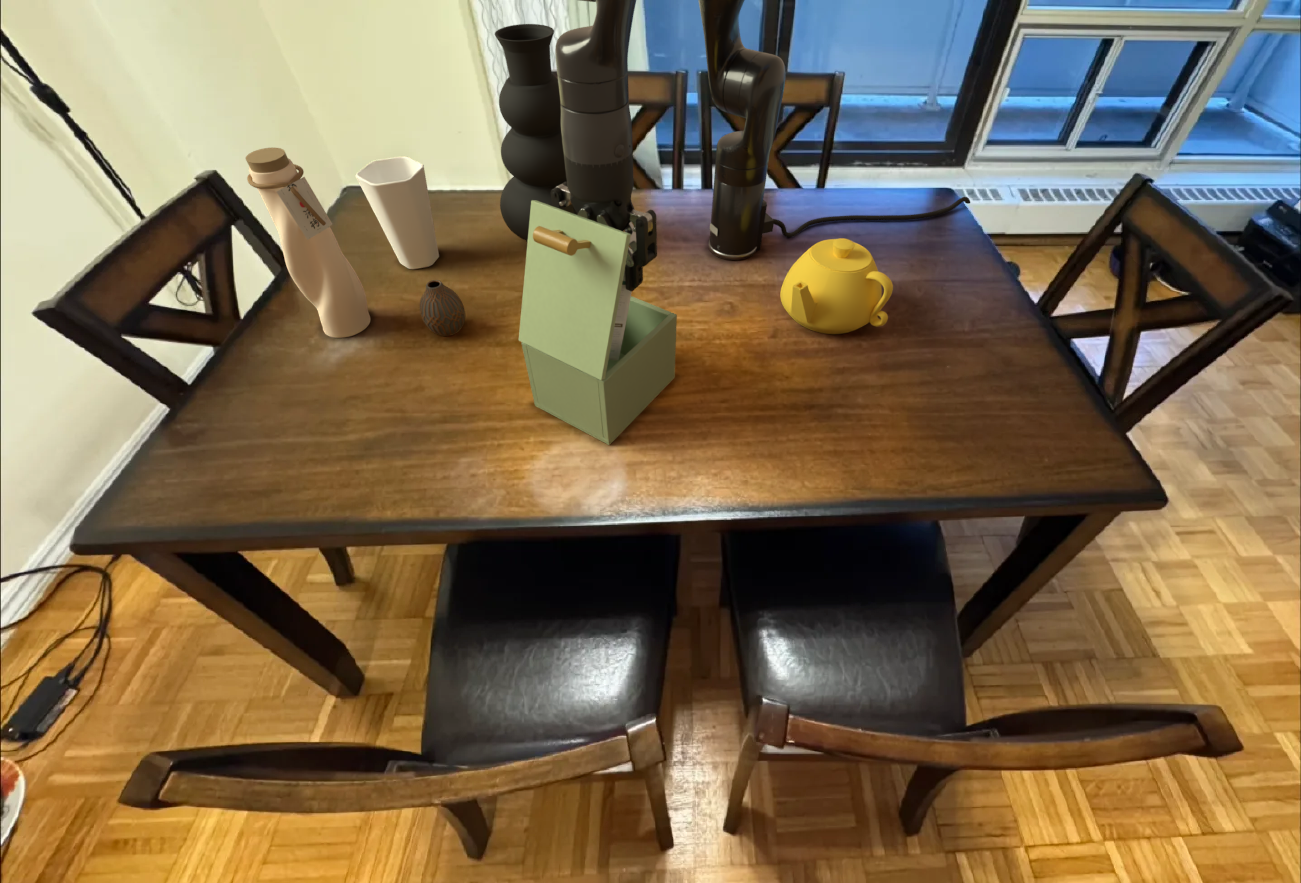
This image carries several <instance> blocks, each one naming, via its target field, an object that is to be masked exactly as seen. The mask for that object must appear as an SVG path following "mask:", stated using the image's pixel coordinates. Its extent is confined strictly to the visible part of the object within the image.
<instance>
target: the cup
mask: <svg viewBox="0 0 1301 883" xmlns="http://www.w3.org/2000/svg"><path fill="white" fill-rule="evenodd" d="M355 178H356V180H357V182H358V184H359V186H360V188H361V189H362V192H363V193H364V196H365V197H366V200H367V201H368V203H369V206H370V207H371V209H372V211H373V213H374V215H375V218H376V219H377V221H378V223H379V225H380V227H381V229H382V230H383V233H384V235H385V237H386V239H387V241H388V243H389V244H390V246H391V248H392V250H393V252H394V254H395V256H396V257H397V260H398V262H399V264H401V265H402V266H404V267H405V268H407V269H408V270H418V269H422V268H428V267H431V266H433V265H434V264H435V262H436V261H437V260H438V259H439V258H440V254H439V248H438V241H437V236H436V229H435V224H434V218H433V212H432V207H431V200H430V195H429V189H428V183H427V178H426V171H425V165H424V164H423V163H422V162H419V161H417V160H415V159H413V158H411V157H409V156H405V155H401V156H393V157H386V158H379V159H374V160H370V161H369V162H368V163H367V164H366V165H364V166H363V167H362V168H361V169H359V170H358V171H357V172H356V173H355Z"/></svg>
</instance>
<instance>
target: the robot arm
mask: <svg viewBox="0 0 1301 883" xmlns="http://www.w3.org/2000/svg"><path fill="white" fill-rule="evenodd" d="M578 1H580V2H590V3H591V2H592V3H595V5H596V6H595V8H596V13H595V17H594V21H593V24H592V25H588V26H587V25H586V26H582V27H577V28H572V29H569V30H567V31H564V32H563V33H562V34H561V35H559V37H558V38H557V40H556V43H555V51H554V53H555V66H556V67H555V68H556V74H557V76H556V77H557V79H558V85H559V94H560V103H561V134H562V143H563V152H564V160H565V169H566V178H567V182H564V183H562V184H560V185H559V186H557V187H555V188H554V189H552V190H551V200H552V206H553V207H556V208H559V209H562V210H564V211H567V212H570V213H573V207H574V209H575V210H576V212H577V214H578V216H581V217H584V218H587V219H590V220H592V221H595V222H598V223H601V224H604V225H606V226H609V227H612V228H615V229H618V230H620V231H623V232H626V233H629V234H631V237H630V243H629V248H630V249H632V251H633V253H631V251H630V250H629V248H628V254H627V259H626V265H625V282H626V290H629V291H632V292H633V291H634V290H636V289H637V288H638V287H639V286H640V285H642V283H643V282H644V267H646V266H647V265H648V264H649V263H651V262H652V261H653V260H654V259H656V258H657V257H658V236H657V235H658V232H657V230H658V229H657V214H656V212H655V211H654V210H653V209H649V210H647V211H646V212H643V211H640V210H637V209H635V206H634V204H633V202H632V194H633V189H634V186H635V185H634V181H635V180H634V154H633V153H634V152H633V151H634V149H633V147H634V146H633V123H632V114H631V109H630V100H629V98H630V94H629V92H630V91H629V64H628V63H629V61H628V60H629V59H628V58H629V47H630V40H631V32H632V27H633V20H634V15H635V10H636V4H637V0H578ZM745 1H746V0H697V2H698V6H699V13H700V19H701V24H702V25H701V26H702V30H703V37H704V38H703V39H704V46H705V47H704V48H705V56H706V68H707V76H708V77H707V78H708V85H709V91H710V95H711V98H712V102H713V103H714V105H715V107H716V108H717V109H719V110H720V111H722V112H724V113H726V114H729V115H732V116H736V117H738V118H739V117H740V118H742V119H745V122H744V128H743V130H737V131H733V132H729V133H727V134H724V135H723V136H721V137H720V138H719V139H718V141H717V143H716V150H715V151H716V152H715V161H714V175H713V176H714V177H713V187H712V188H713V189H712V202H711V214H710V223H709V238H708V250H709V251H710V253H711V254H713V255H714V256H715V257H717V258H720V259H723V260H728V261H740V260H746V259H748V258H751V257H753V256H754V255H755V253H757V251H761V247H762V241H763V235H764V234H767V233H768V234H769V233H772V232H773V231H774V225H775V226H778V227H779V228H780V230H781V233H782V234H781V235H782V236H783V237H785V238H787V239H789V238H793V237H796V236H797V235H799V234H800V233H801V232H803V231H804V230H806V228H808V227H810V226H814V225H817V224H818V225H819V224H823V223H831V222H846V221H847V222H848V221H912V220H919V219H927V218H931V217H936V216H940V215H943V214H946V213H949V212H951V211H953V210H954V209H956V208H957V207H958V206H960V204H962V203H965V204H966V205H968V204H969V205H970V204H971V200H970V198H969V197H968V196H962V197H960V198H958V199H957V200H956V201H954V202H953V203H952V204H950V205H949V206H947V207H944V208H940V209H937V210H933V211H929V212H923V213H914V214H891V215H890V214H889V215H885V214H883V215H882V214H881V215H878V214H877V215H872V214H870V215H868V214H865V215H864V214H856V215H855V214H851V215H850V214H849V215H834V216H824V217H818V218H813V219H810V220H808V221H806V222H804V223H803V224H801V225H800V226H799V227H797V229H795V230H794V231H792V232H789V231H788V230H787V227H786V225H785V223H784V222H783V221H781V220H779V219H776V218H773V217H771V216H770V215H769V214H768V213H767V207H768V203H767V201H765V199H764V197H765V189H766V184H767V183H766V182H767V177H768V176H767V174H768V168H769V161H770V155H771V150H772V147H773V144H774V142H775V138H776V133H777V128H778V122H779V117H780V112H781V107H782V102H783V98H784V93H785V92H784V91H785V87H786V86H785V85H786V66H785V63H784V61H783V59H782V58H781V57H780V56H778V55H776V54H772V53H768V52H763V51H759V50H754V49H751V48H746V47H745V45H744V44H743V41H742V37H741V29H740V14H741V10H742V8H743V5H744V3H745ZM573 214H574V213H573Z"/></svg>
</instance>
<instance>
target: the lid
mask: <svg viewBox="0 0 1301 883" xmlns="http://www.w3.org/2000/svg"><path fill="white" fill-rule="evenodd" d="M630 237H631V234H629V233H626V232H625V231H620V230H618V229H615V228H612V227H609V226H606V225H604V224H601V223H598V222H595V221H592V220H590V219H587V218H584V217H581V216H578V215H576V214H573V213H570V212H567V211H564V210H562V209H559V208H556V207H553V206H550V205H547V204H545V203H542V202H539V201H536V200H532V201H531V210H530V221H529V232H528V243H527V242H526V243H527V244H526V255H525V266H524V276H523V287H522V298H521V307H520V308H521V309H520V311H521V312H520V319H519V330H518V341H519V342H521V343H522V342H523V343H525V344H527V345H529V346H531V347H533V348H535V349H537V350H539V351H541V352H543V353H546V354H548V355H550V356H552V357H554V358H556V359H558V360H560V361H562V362H564V363H566V364H568V365H570V366H572V367H574V368H577V369H579V370H581V371H583V372H585V373H587V374H589V375H591V376H593V377H595V378H597V379H599V380H604V379H605V377H606V371H607V365H608V360H609V354H610V349H611V343H612V337H613V332H614V326H615V321H616V315H617V310H618V304H619V298H620V293H621V287H622V282H623V276H624V270H625V265H626V259H627V254H628V248H630V245H629V243H630Z"/></svg>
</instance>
